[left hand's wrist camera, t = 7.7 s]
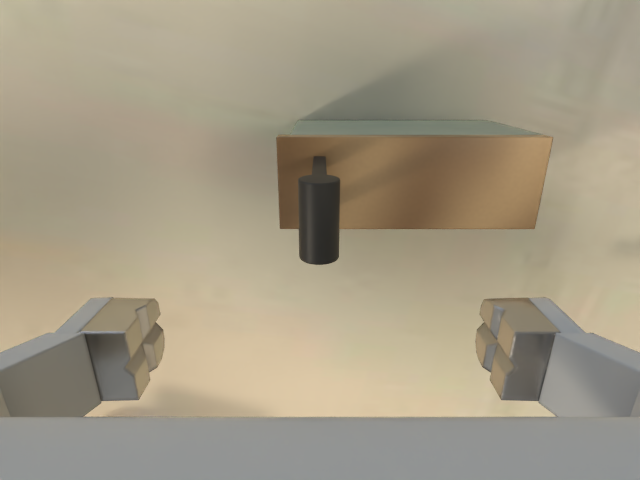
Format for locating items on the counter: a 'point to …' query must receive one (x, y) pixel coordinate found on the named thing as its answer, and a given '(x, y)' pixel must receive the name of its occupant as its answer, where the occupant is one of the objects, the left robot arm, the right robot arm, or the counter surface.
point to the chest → (405, 127)
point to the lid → (406, 184)
